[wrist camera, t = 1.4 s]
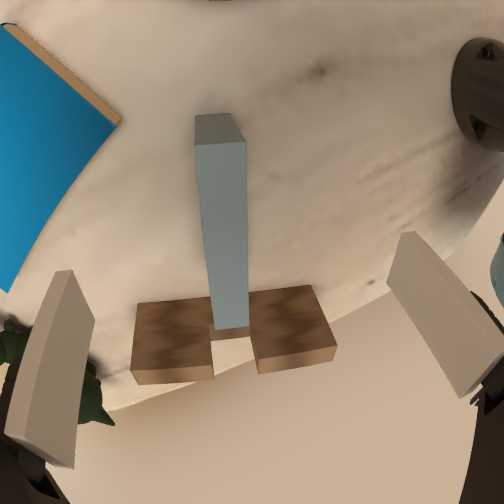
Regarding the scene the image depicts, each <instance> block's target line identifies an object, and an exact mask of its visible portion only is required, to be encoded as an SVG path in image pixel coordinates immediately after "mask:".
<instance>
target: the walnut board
mask: <svg viewBox="0 0 504 504" xmlns="http://www.w3.org/2000/svg"><path fill="white" fill-rule="evenodd" d="M248 294H249V326H245V327H237V328H229V329H220V330H215V325H214V318H213V311H212V304H211V297H205V298H195V299H185V300H174V301H163V302H152V303H140V304H138V307H137V315H136V322H135V330H134V338H133V347H132V357H131V367H130V371H131V373H132V375H133V376H134V378H135V380H136V382H137V383H138V385H148V384H168V383H183V382H196V381H206V380H214V371H213V361H212V352H211V342H210V341H216V340H225V339H233V338H241V337H249V336H250V338H251V342H252V347H253V352H254V356H255V361H256V366H257V370H258V374H263V373H270V372H275V371H282V370H288V369H293V368H299V367H304V366H309V365H315V364H320V363H324V362H329V361H332V360H333V358H334V355H335V352H336V349H337V343H336V341H335V338H334V336H333V334H332V332H331V329H330V327H329V325H328V322H327V320H326V318H325V315H324V313H323V311H322V309H321V306H320V304H319V302H318V300H317V298H316V295H315V293H314V291H313V289H312V287H311V285H305V286H298V287H290V288H283V289H275V290H267V291H258V292H250V293H248Z"/></svg>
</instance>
